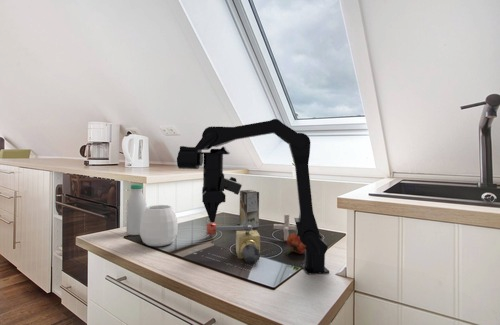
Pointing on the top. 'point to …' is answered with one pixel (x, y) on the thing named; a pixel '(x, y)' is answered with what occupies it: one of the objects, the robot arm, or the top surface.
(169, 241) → the white faceted vase
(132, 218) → the milk bottle
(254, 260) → the valve
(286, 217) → the pipe connector
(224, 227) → the lever
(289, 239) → the pomegranate
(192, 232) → the top surface
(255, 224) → the coffee box
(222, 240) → the top surface
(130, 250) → the top surface
